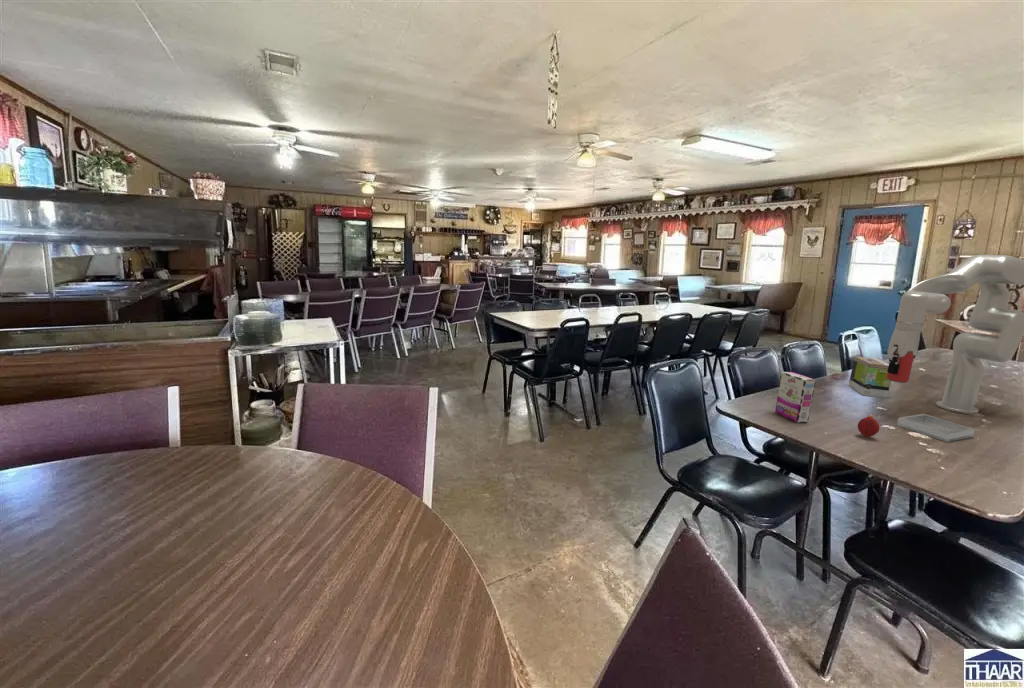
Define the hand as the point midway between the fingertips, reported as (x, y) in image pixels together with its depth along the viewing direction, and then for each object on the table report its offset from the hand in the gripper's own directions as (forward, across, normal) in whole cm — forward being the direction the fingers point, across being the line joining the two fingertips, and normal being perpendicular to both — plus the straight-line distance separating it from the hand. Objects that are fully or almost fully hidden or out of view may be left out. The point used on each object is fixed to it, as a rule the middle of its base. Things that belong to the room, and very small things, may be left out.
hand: (898, 372), depth 174 cm
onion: (+17, +32, +12) cm, 39 cm away
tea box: (+18, -24, -23) cm, 37 cm away
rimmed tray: (+17, +2, +16) cm, 23 cm away
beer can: (+3, 0, 0) cm, 3 cm away
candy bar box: (+17, +41, -9) cm, 46 cm away
